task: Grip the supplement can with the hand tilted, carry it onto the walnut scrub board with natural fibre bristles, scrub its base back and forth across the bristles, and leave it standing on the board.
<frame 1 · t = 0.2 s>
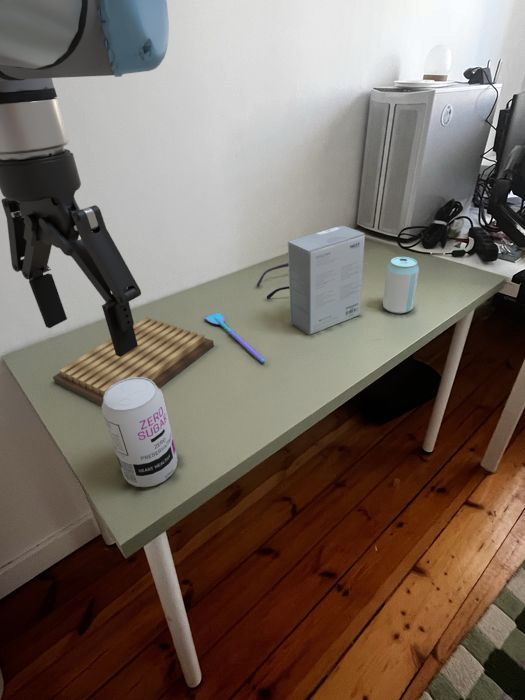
hand: (90, 336, 54), 24 cm above the table, tool pointing down, fingers open, 13 cm apart
spoon: (234, 338, 97), on the table
scrub board: (138, 363, 91), on the table
can: (397, 308, 105), on the table
supplement can: (151, 469, 67), on the table
hard drive box: (324, 319, 102), on the table
sunglasses: (289, 288, 117), on the table
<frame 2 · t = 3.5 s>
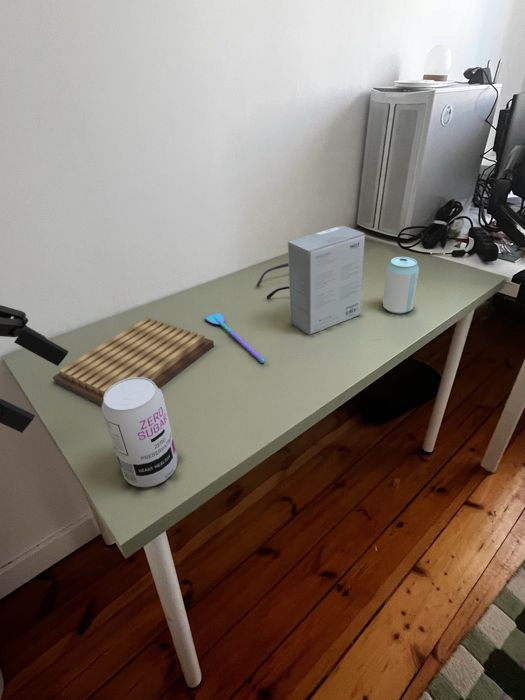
hand: (48, 388, 57), 17 cm above the table, tool tilted 45°, fingers open, 13 cm apart
nothing on the table moved.
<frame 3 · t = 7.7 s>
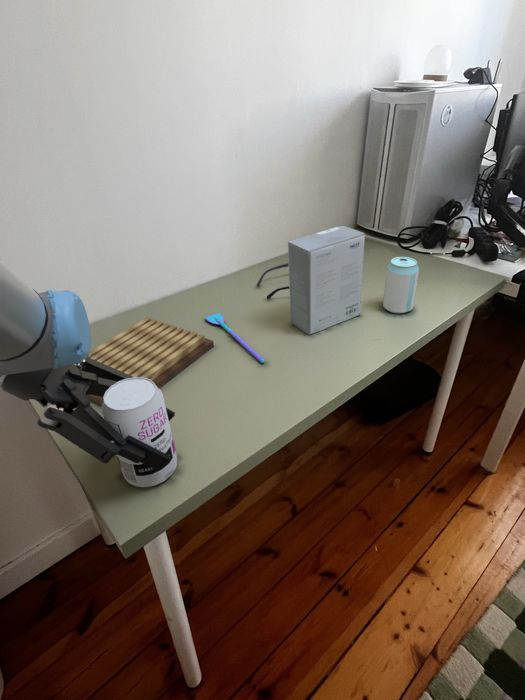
hand: (166, 439, 64), 6 cm above the table, tool tilted 45°, fingers closed on supplement can, 8 cm apart
supplement can: (151, 469, 67), on the table, touching gripper
everything else where it was.
when the fingers open (8 cm above the table, at t = 19.9 s): supplement can stays where it is, resting on scrub board.
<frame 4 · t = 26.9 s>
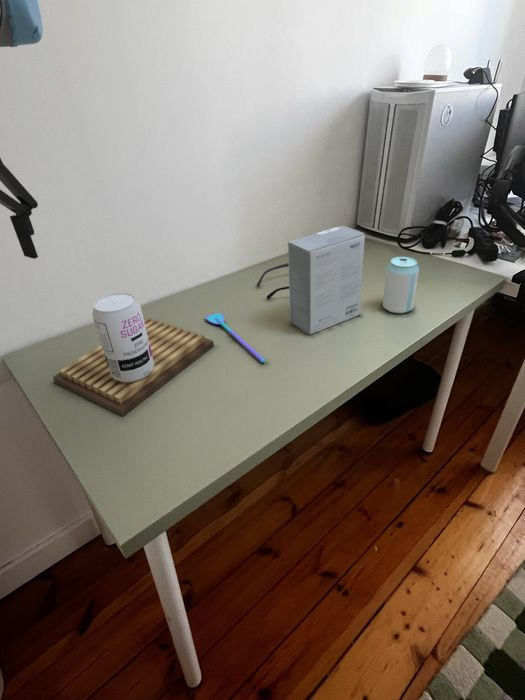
supplement can: (133, 372, 83), point 3 cm above the table, touching scrub board
everything else where it was.
at the end: supplement can inside the target area on the scrub board (0.1 cm from its centre), point 2.8 cm above the scrub board's base; supplement can tilted 0°; supplement can moved 23.0 cm from its start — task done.
